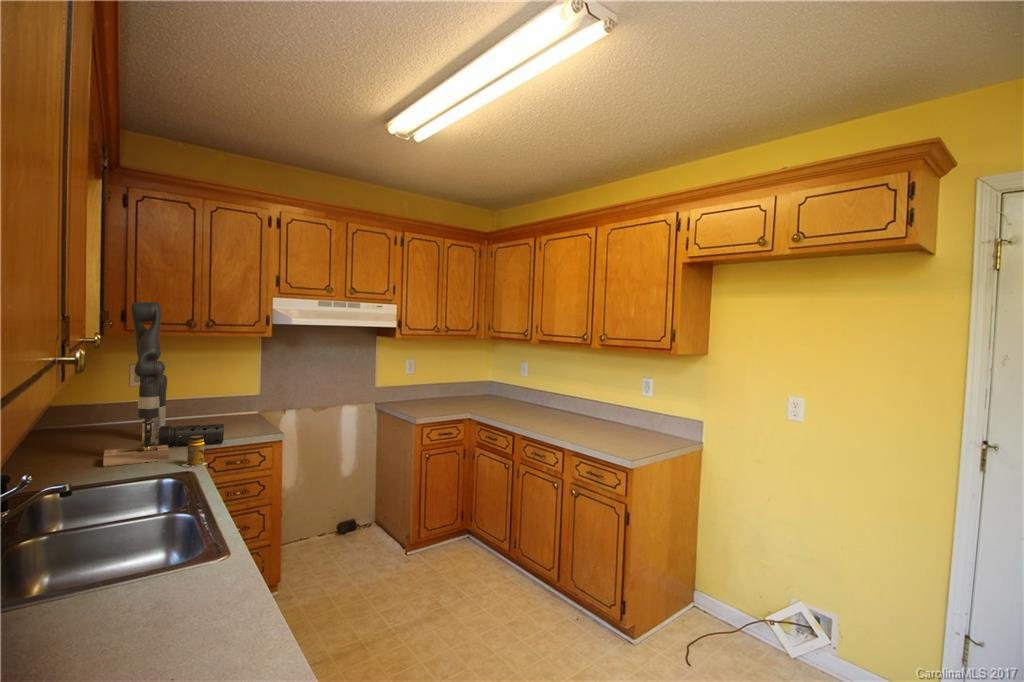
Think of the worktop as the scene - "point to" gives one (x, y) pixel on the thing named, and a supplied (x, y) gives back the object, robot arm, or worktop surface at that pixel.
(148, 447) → the brass peg
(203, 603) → the worktop surface
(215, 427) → the muzzle brake
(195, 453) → the condiment
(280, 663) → the worktop surface
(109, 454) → the keyhole board
